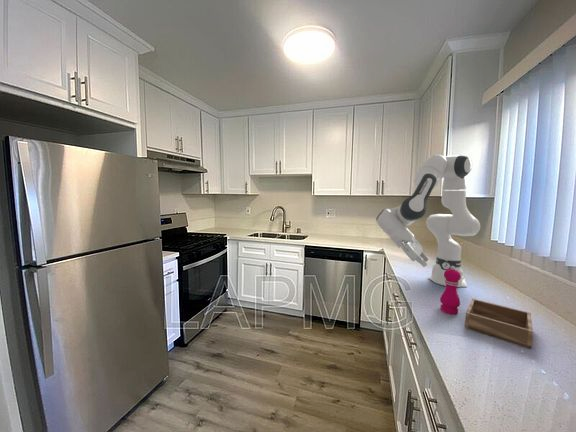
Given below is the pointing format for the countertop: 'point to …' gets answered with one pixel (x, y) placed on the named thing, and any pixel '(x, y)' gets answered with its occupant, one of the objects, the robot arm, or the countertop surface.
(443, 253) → the robot arm
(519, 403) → the countertop surface
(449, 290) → the pepper mill
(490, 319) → the tray
